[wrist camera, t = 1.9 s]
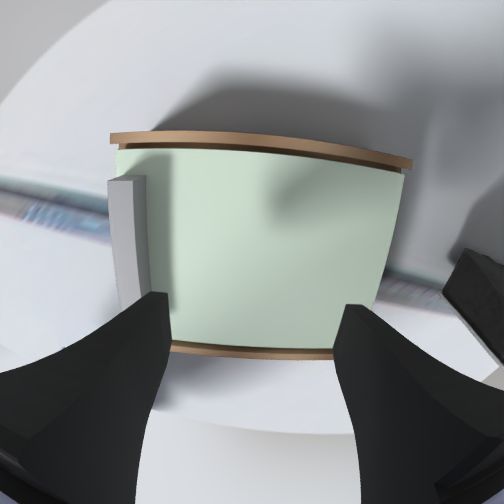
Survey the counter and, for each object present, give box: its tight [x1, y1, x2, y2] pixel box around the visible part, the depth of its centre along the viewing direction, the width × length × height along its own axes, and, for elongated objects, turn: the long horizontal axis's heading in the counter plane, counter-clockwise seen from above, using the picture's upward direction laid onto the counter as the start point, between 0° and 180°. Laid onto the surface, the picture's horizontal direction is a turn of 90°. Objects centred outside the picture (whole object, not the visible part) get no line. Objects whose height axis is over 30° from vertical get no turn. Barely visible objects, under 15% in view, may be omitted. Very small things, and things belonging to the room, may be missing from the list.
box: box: [110, 131, 412, 360], centre depth 16 cm, size 14×12×5 cm
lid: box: [107, 148, 405, 348], centre depth 13 cm, size 14×10×2 cm
